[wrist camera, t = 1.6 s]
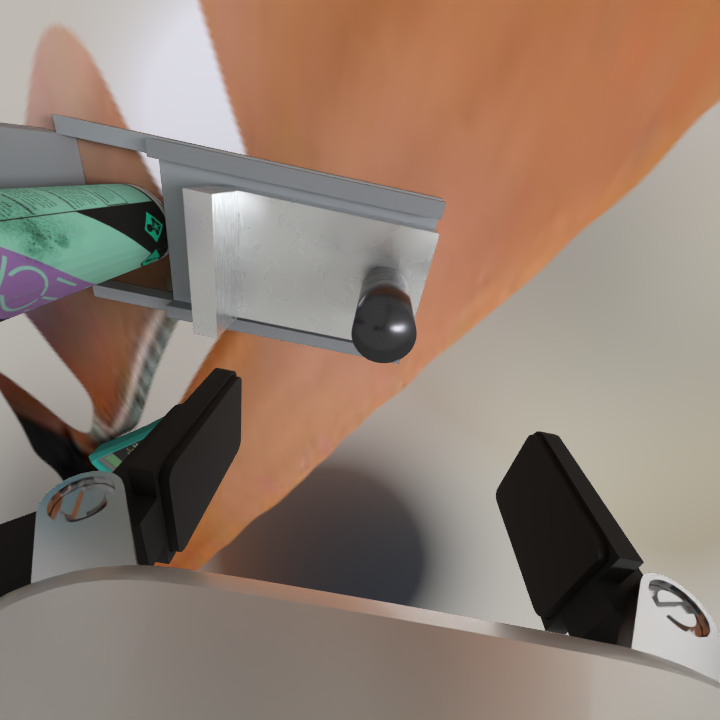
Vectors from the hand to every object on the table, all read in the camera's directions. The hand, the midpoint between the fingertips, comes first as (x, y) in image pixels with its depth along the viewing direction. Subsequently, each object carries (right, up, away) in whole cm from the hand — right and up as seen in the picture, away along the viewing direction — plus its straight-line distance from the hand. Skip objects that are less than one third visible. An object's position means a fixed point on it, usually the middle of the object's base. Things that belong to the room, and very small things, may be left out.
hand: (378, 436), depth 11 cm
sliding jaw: (-3, +9, +13) cm, 16 cm away
